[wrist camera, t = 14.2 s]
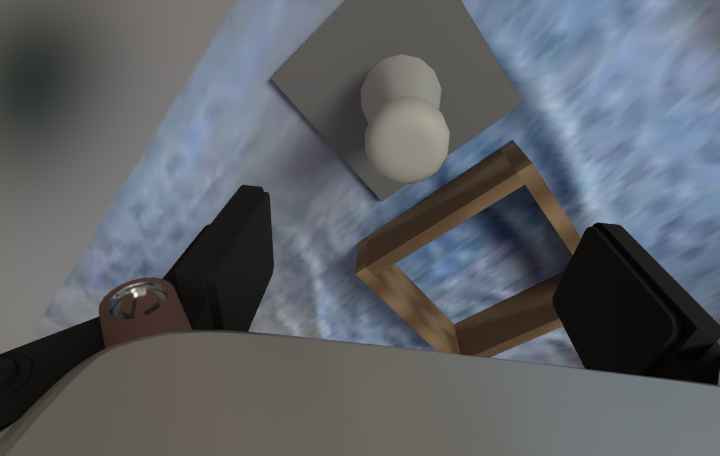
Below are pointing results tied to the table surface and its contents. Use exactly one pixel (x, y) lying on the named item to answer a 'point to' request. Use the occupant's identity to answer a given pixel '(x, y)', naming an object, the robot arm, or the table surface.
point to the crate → (441, 214)
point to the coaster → (384, 40)
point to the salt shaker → (404, 120)
